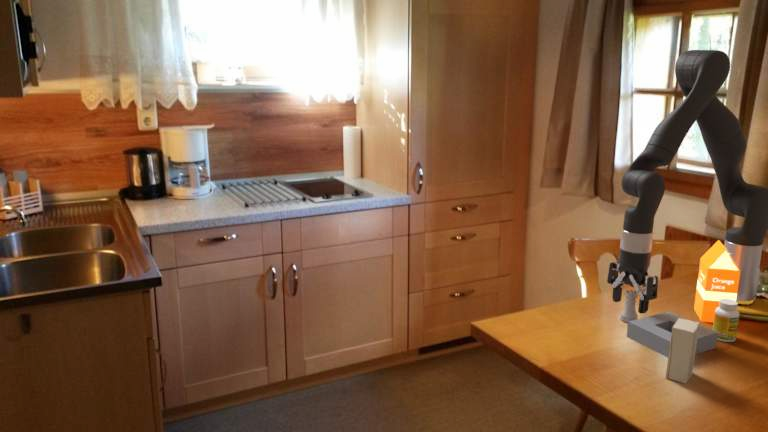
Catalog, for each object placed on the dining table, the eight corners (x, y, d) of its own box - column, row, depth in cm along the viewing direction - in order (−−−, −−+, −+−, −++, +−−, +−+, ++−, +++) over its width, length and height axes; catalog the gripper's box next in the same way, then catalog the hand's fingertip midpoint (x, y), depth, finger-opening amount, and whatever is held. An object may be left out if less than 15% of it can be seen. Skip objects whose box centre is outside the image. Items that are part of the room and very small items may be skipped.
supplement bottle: (718, 331, 159) (724, 295, 157) (740, 339, 155) (745, 302, 152) (706, 336, 156) (711, 300, 154) (728, 344, 152) (733, 307, 150)
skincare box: (672, 367, 141) (678, 316, 138) (693, 373, 139) (700, 321, 136) (665, 378, 136) (671, 326, 133) (687, 384, 134) (694, 332, 131)
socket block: (666, 325, 162) (668, 311, 161) (715, 348, 150) (717, 332, 149) (626, 336, 156) (628, 321, 155) (674, 360, 144) (676, 344, 143)
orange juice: (724, 311, 171) (734, 240, 166) (733, 324, 163) (744, 250, 158) (693, 308, 173) (702, 238, 168) (700, 321, 165) (710, 248, 160)
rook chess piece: (634, 325, 163) (637, 296, 161) (617, 320, 165) (619, 292, 163) (639, 319, 166) (642, 291, 164) (622, 315, 169) (625, 287, 167)
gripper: (669, 253, 156) (661, 314, 160) (625, 238, 169) (619, 295, 173) (647, 257, 153) (640, 319, 157) (604, 241, 165) (598, 299, 169)
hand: (629, 306), depth 165 cm, fingers open, 8 cm apart
